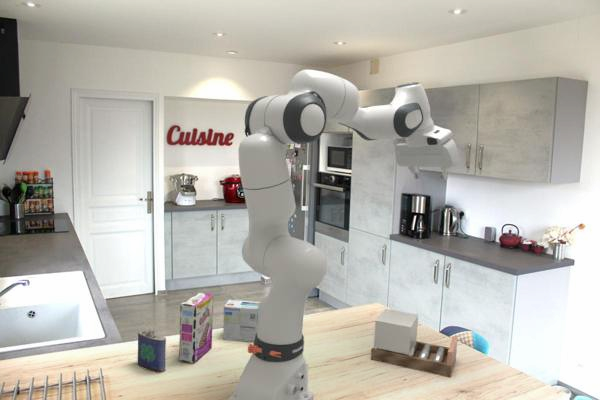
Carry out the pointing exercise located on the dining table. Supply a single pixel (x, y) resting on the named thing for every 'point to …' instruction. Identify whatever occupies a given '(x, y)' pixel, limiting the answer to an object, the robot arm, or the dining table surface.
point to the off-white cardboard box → (396, 331)
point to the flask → (151, 351)
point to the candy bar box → (195, 327)
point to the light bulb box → (240, 320)
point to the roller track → (413, 359)
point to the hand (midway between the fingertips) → (431, 178)
